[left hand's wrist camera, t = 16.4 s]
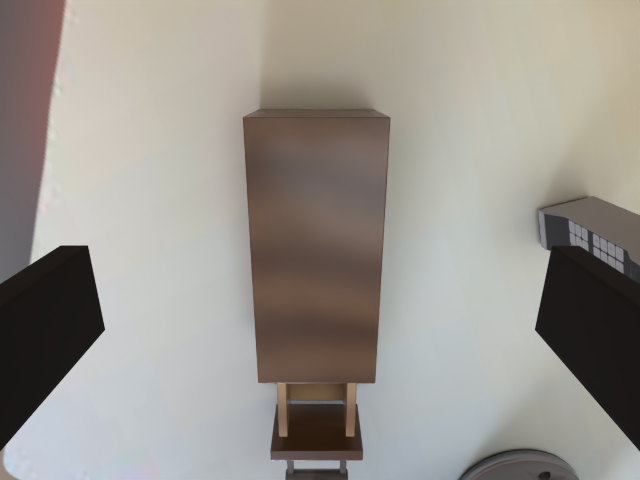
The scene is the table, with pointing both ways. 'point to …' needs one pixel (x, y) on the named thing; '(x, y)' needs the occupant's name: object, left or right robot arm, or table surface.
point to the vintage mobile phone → (595, 232)
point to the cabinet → (316, 241)
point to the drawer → (316, 429)
